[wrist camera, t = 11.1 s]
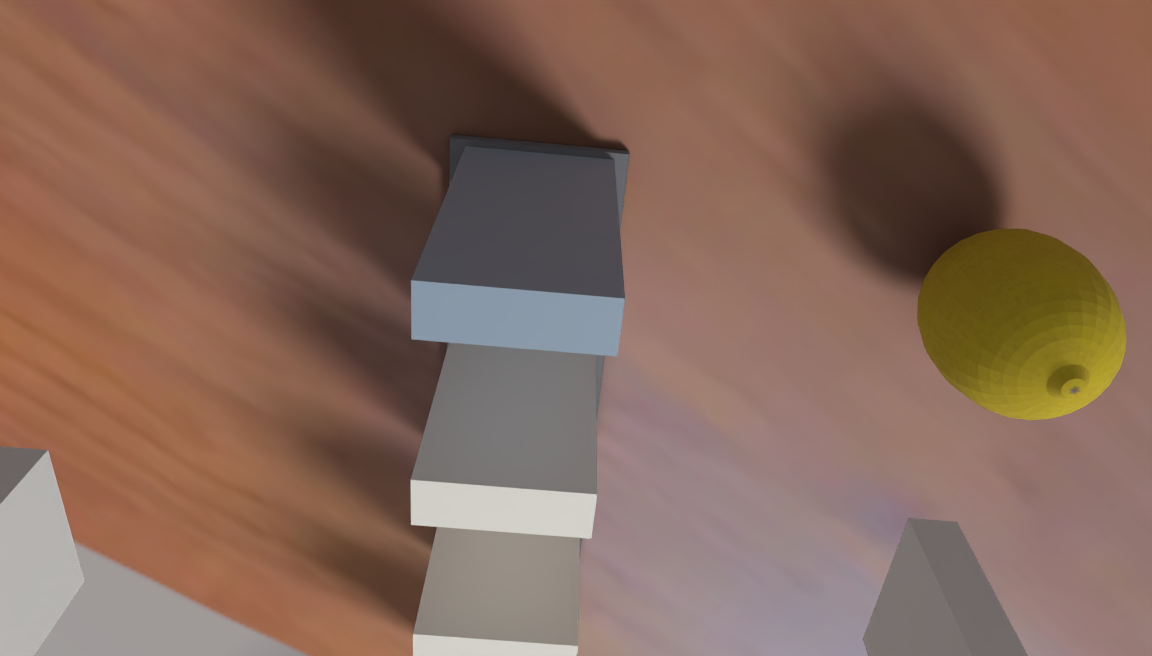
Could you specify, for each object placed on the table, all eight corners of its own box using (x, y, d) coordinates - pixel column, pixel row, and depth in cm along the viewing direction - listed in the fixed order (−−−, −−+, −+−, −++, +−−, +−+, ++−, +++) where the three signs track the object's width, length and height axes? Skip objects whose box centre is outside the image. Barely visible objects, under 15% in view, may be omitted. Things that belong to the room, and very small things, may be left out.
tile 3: (457, 433, 34) (412, 634, 26) (581, 444, 35) (578, 646, 26) (456, 465, 35) (413, 669, 27) (577, 474, 35) (573, 680, 27)
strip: (451, 134, 29) (449, 138, 28) (628, 150, 29) (629, 154, 29) (442, 655, 42) (441, 662, 41) (565, 664, 42) (565, 671, 42)
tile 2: (460, 303, 32) (410, 480, 23) (595, 314, 32) (597, 494, 23) (459, 340, 32) (410, 525, 24) (591, 351, 32) (591, 538, 24)
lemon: (872, 326, 32) (949, 460, 25) (912, 187, 30) (1011, 295, 23) (1016, 337, 32) (1132, 473, 25) (1069, 200, 30) (1216, 311, 23)
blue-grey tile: (465, 146, 29) (410, 280, 20) (614, 159, 29) (624, 298, 20) (464, 191, 29) (411, 339, 21) (609, 204, 30) (617, 356, 21)
